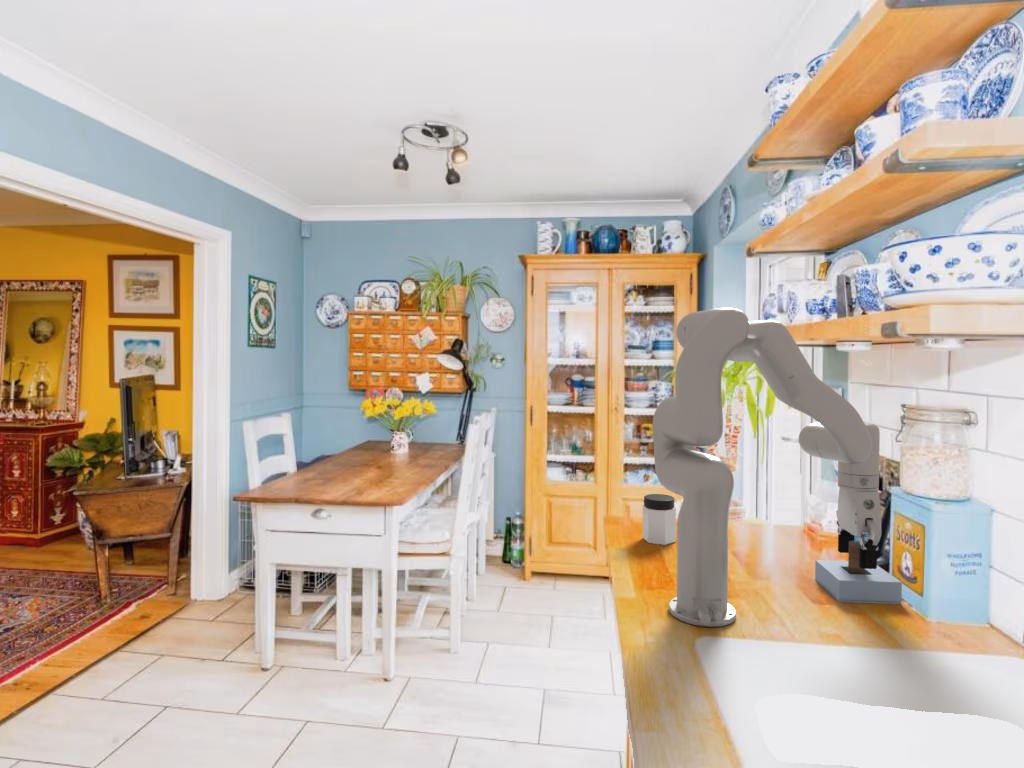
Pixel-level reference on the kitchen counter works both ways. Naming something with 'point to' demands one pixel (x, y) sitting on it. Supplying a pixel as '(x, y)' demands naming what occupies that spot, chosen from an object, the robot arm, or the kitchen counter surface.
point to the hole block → (857, 583)
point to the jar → (659, 519)
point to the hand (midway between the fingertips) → (856, 560)
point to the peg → (854, 558)
